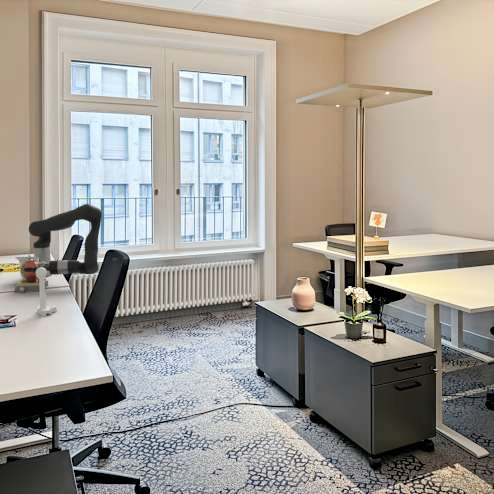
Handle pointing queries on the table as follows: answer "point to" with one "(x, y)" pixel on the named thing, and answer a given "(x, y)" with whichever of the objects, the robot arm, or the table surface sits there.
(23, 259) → the pitcher
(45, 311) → the joystick
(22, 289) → the grey tray
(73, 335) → the table surface
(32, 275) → the spout can
